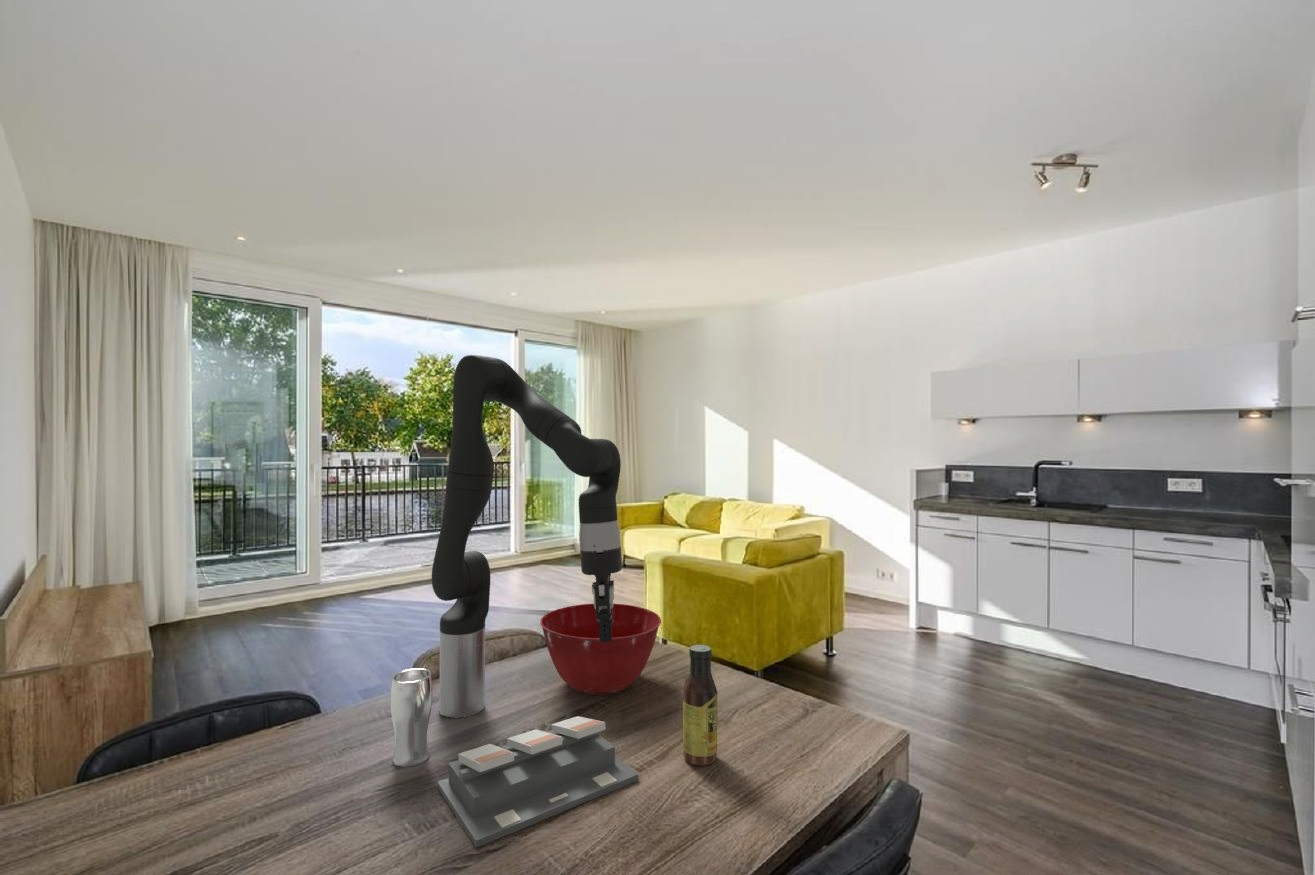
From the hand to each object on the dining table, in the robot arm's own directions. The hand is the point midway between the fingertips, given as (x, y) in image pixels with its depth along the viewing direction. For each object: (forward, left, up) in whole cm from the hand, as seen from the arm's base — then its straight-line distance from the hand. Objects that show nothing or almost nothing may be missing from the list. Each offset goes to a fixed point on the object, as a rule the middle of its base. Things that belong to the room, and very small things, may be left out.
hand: (606, 635), depth 109 cm
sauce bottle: (+11, +13, -22) cm, 28 cm away
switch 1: (-1, -23, -16) cm, 27 cm away
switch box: (+1, -14, -22) cm, 26 cm away
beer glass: (-20, -29, -22) cm, 41 cm away
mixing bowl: (-28, +16, -22) cm, 39 cm away
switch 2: (-1, -14, -16) cm, 21 cm away
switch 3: (-1, -6, -16) cm, 16 cm away
